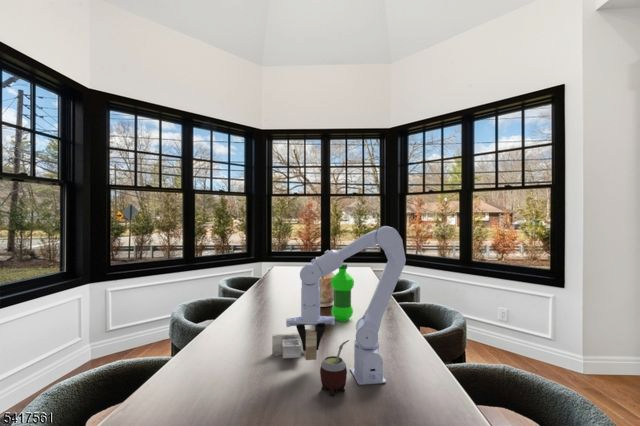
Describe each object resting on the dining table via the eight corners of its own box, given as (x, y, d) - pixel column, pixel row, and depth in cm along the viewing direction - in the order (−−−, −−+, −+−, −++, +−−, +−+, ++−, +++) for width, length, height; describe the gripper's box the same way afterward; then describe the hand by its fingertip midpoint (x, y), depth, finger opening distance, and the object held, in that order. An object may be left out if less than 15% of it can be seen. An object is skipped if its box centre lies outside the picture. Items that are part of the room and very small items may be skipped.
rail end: (316, 359, 94) (316, 332, 94) (305, 360, 94) (305, 332, 94) (314, 354, 97) (315, 328, 98) (304, 355, 97) (304, 329, 97)
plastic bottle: (329, 316, 149) (330, 262, 150) (352, 316, 150) (352, 262, 150) (331, 323, 139) (331, 265, 140) (355, 323, 140) (355, 266, 140)
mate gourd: (322, 382, 89) (322, 328, 89) (350, 385, 88) (351, 330, 88) (317, 397, 81) (318, 338, 82) (348, 400, 80) (349, 340, 80)
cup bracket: (310, 362, 101) (311, 342, 101) (272, 365, 99) (272, 344, 99) (307, 351, 109) (307, 332, 109) (272, 353, 107) (272, 334, 107)
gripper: (331, 299, 101) (331, 342, 101) (285, 301, 99) (285, 345, 98) (336, 305, 94) (336, 351, 94) (287, 307, 92) (286, 355, 91)
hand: (310, 349), depth 96 cm, fingers closed on rail end, 3 cm apart
